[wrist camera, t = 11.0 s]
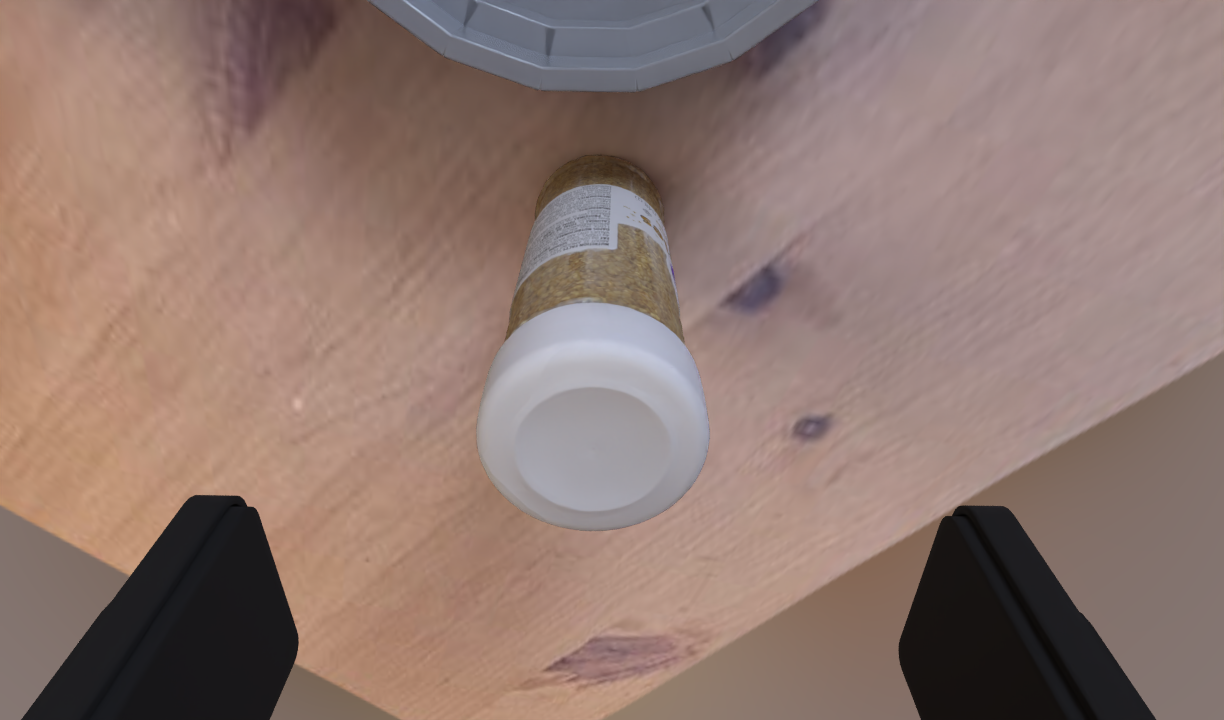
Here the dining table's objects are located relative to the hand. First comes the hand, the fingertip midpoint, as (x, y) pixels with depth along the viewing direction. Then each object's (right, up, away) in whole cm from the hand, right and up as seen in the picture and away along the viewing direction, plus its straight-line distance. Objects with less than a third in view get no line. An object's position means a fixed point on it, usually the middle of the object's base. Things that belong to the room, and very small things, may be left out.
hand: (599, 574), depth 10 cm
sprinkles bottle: (0, +8, +15) cm, 17 cm away
